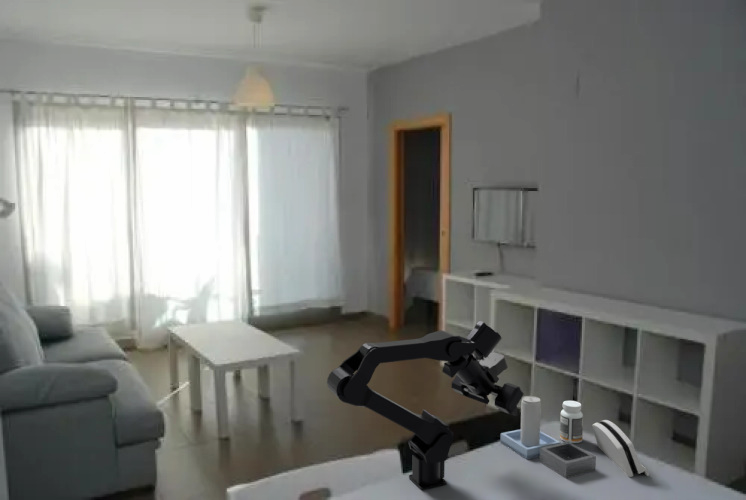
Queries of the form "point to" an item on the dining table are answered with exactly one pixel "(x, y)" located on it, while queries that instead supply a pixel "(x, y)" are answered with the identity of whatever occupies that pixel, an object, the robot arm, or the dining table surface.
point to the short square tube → (575, 466)
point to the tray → (514, 442)
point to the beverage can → (530, 421)
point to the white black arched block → (618, 447)
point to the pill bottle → (571, 422)
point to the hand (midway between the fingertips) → (502, 408)
